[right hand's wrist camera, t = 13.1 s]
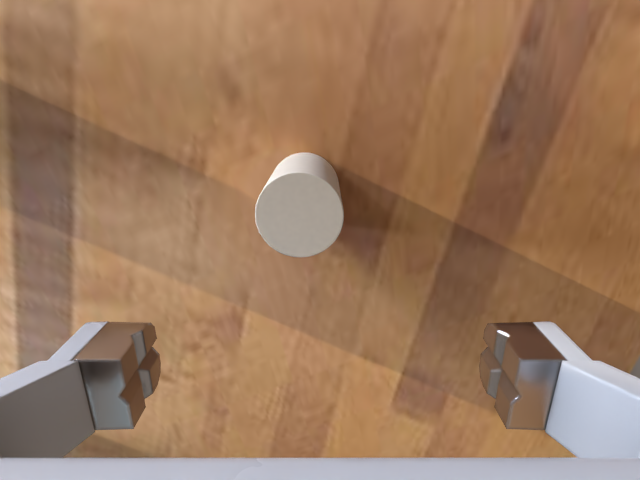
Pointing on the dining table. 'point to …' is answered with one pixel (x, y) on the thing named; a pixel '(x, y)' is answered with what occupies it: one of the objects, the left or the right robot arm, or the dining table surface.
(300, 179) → the canister
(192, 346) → the dining table surface
